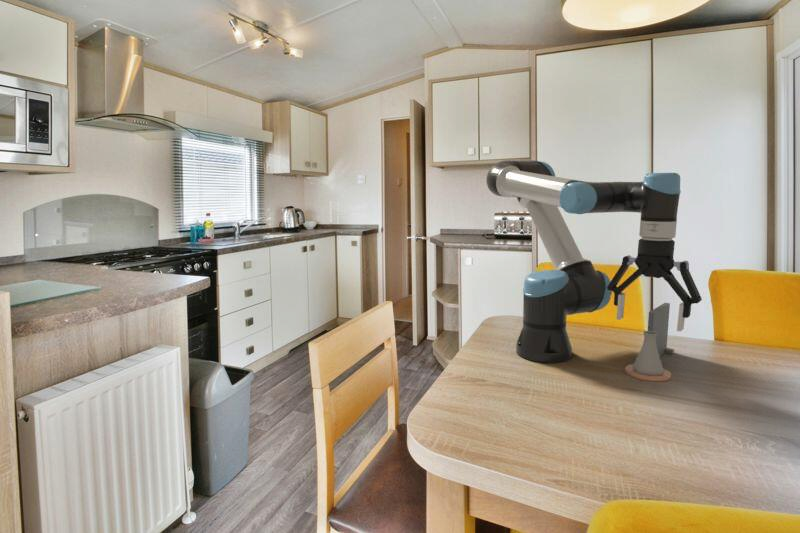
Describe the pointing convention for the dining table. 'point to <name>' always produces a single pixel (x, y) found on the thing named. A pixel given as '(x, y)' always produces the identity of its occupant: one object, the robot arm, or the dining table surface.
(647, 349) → the flask
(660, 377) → the coaster
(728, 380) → the dining table surface
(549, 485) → the dining table surface
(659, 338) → the screen
